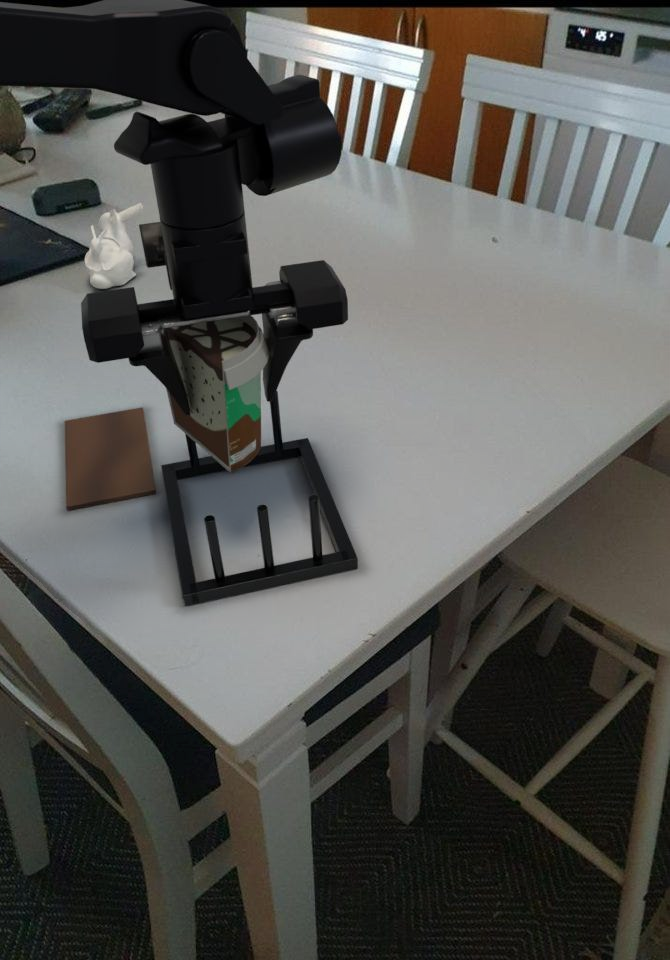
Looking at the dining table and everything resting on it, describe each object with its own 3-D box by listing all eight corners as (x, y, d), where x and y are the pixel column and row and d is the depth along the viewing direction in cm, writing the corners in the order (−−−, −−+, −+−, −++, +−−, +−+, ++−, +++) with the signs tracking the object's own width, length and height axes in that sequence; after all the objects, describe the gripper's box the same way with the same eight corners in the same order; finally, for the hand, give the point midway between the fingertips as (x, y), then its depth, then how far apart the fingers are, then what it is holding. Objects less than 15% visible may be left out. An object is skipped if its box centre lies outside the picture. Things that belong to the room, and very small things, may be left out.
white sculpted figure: (116, 255, 116) (101, 187, 110) (165, 258, 114) (153, 190, 108) (77, 293, 107) (59, 222, 101) (130, 297, 105) (115, 225, 99)
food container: (307, 452, 64) (299, 337, 58) (241, 481, 61) (226, 364, 55) (227, 393, 72) (213, 287, 66) (165, 416, 69) (145, 308, 64)
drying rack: (185, 606, 64) (169, 535, 59) (163, 474, 77) (148, 407, 72) (358, 568, 66) (356, 497, 61) (308, 447, 79) (304, 380, 74)
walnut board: (67, 510, 73) (65, 506, 73) (65, 424, 84) (64, 420, 83) (156, 493, 75) (155, 489, 74) (143, 410, 85) (142, 407, 85)
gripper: (309, 160, 62) (318, 339, 72) (60, 189, 59) (105, 373, 69) (347, 212, 54) (352, 406, 64) (60, 250, 51) (111, 449, 60)
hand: (228, 405), depth 64 cm, fingers closed on food container, 6 cm apart
